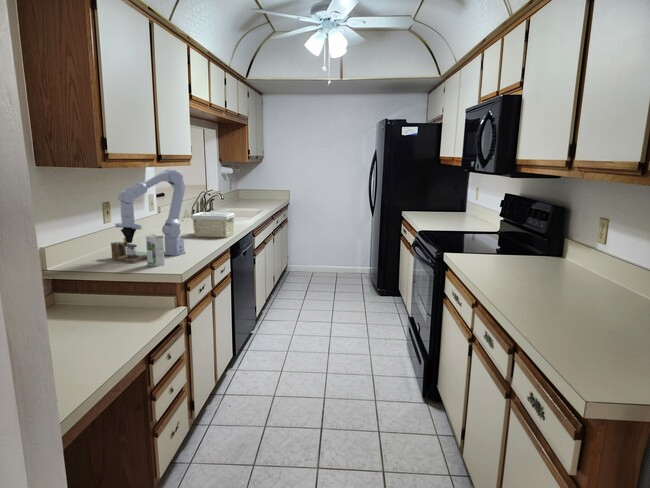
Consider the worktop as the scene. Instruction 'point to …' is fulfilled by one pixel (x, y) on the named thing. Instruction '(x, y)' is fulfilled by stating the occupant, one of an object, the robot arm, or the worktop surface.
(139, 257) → the walnut socket block
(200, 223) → the storage basket
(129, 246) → the dark grey long bar
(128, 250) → the steel peg
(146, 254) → the sage rubber pad
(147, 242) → the syrup box
